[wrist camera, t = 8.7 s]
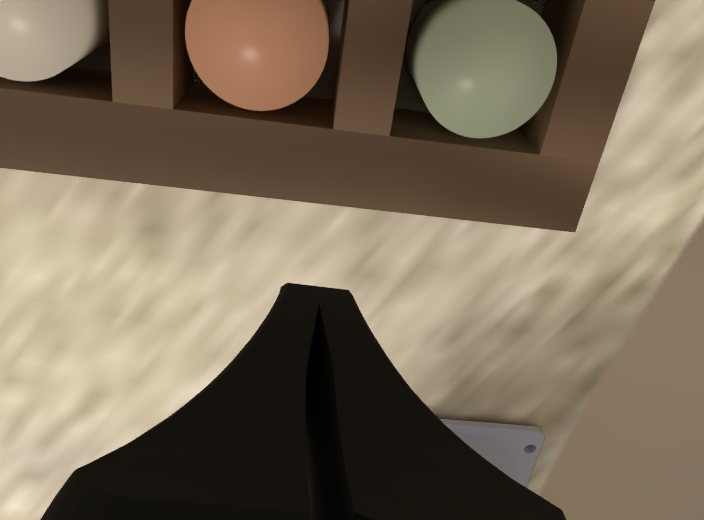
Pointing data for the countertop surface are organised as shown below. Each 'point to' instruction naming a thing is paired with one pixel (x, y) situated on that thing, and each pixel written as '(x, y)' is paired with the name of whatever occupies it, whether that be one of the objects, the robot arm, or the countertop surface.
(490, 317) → the countertop surface
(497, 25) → the sage button
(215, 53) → the terracotta button
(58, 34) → the cream button
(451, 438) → the robot arm
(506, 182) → the button panel
